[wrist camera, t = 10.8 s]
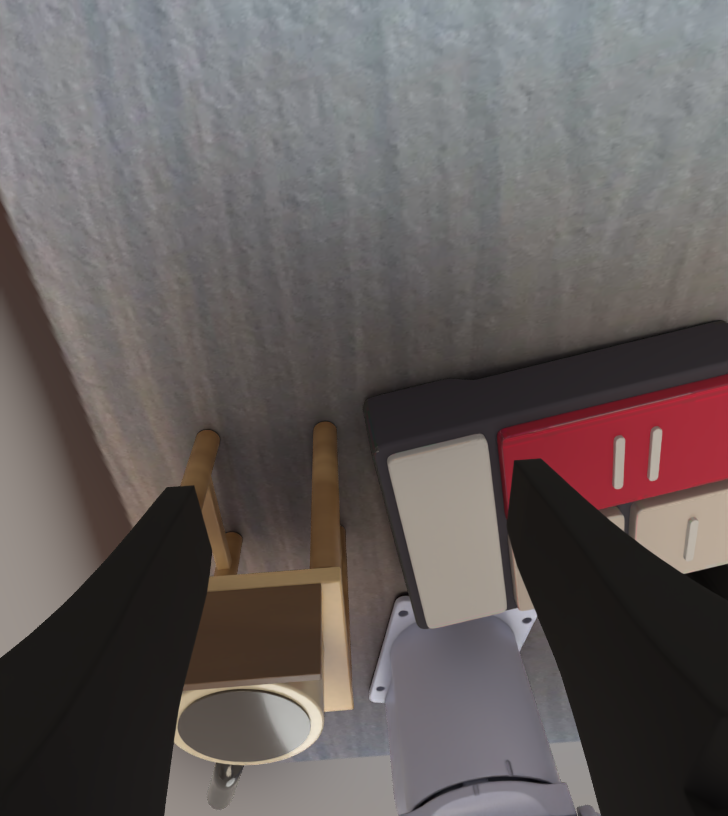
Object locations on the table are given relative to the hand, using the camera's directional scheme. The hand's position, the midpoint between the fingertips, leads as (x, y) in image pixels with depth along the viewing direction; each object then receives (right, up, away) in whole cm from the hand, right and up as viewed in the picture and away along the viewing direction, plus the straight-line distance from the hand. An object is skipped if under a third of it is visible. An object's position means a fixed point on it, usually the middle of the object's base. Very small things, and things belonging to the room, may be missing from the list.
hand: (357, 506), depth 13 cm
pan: (-4, -7, +6) cm, 10 cm away
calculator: (+8, 0, +13) cm, 16 cm away
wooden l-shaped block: (-3, -6, +6) cm, 9 cm away
